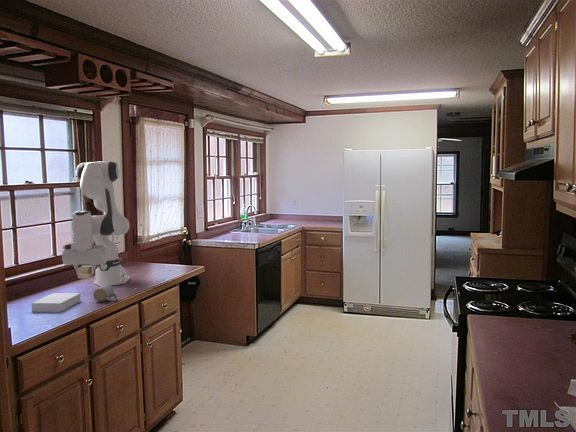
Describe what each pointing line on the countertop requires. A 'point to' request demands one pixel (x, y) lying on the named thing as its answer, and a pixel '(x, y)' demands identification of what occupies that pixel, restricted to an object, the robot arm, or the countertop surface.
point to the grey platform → (56, 302)
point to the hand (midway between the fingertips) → (85, 273)
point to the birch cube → (84, 272)
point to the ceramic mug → (104, 293)
